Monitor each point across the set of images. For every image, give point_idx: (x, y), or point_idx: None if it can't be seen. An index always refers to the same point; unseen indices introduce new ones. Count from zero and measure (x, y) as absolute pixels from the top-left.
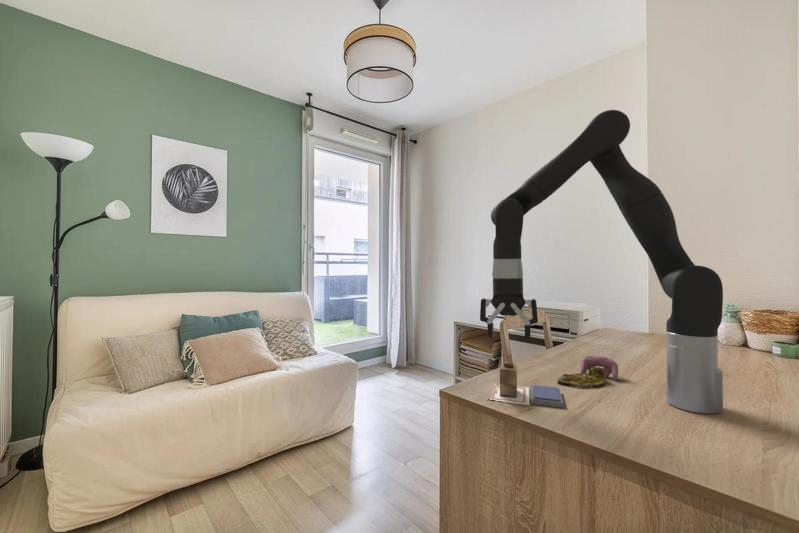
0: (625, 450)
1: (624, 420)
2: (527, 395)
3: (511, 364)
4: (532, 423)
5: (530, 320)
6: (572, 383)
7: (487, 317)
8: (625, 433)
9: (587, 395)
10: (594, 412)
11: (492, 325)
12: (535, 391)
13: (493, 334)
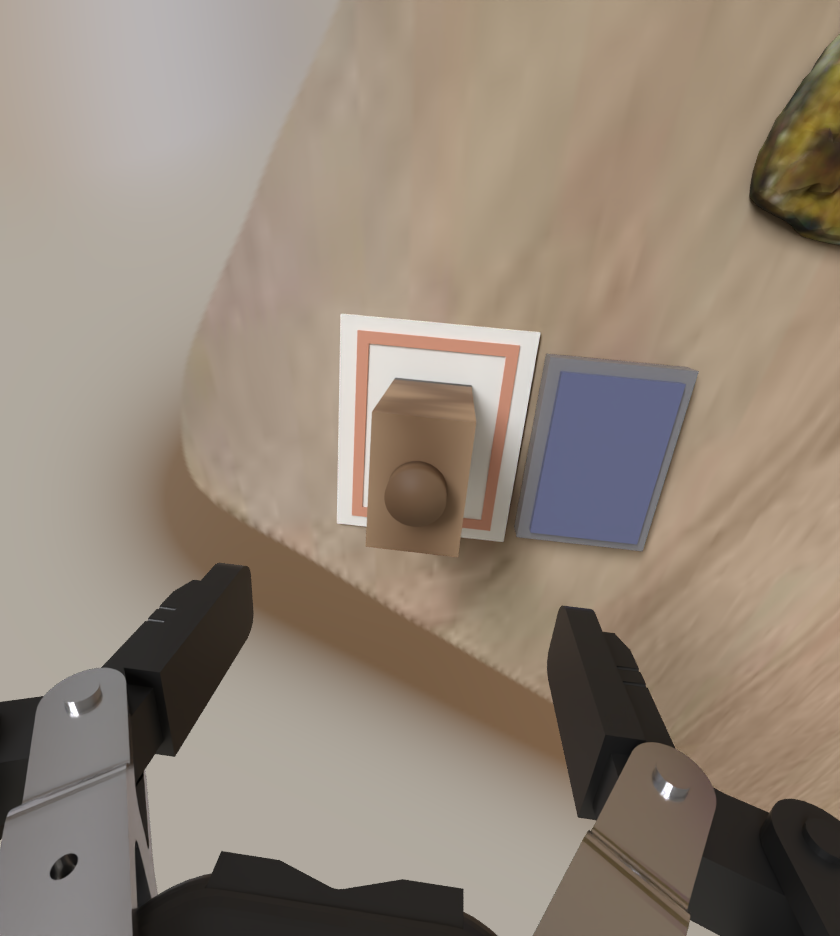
0: (696, 753)
1: (820, 601)
2: (512, 447)
3: (434, 520)
4: (488, 664)
5: (696, 906)
6: (832, 227)
7: (8, 766)
8: (757, 680)
9: (827, 367)
10: (744, 556)
11: (179, 747)
12: (550, 468)
13: (236, 585)
